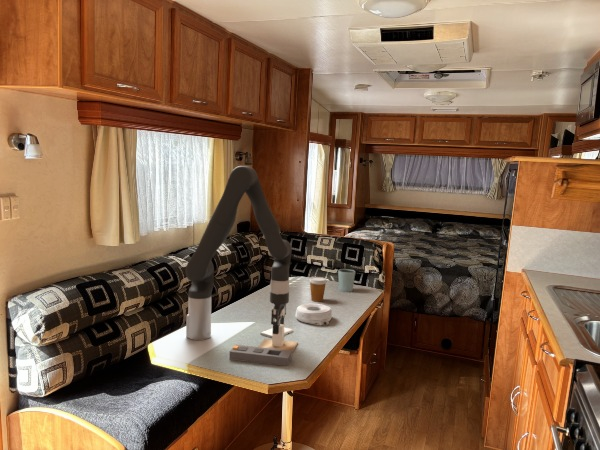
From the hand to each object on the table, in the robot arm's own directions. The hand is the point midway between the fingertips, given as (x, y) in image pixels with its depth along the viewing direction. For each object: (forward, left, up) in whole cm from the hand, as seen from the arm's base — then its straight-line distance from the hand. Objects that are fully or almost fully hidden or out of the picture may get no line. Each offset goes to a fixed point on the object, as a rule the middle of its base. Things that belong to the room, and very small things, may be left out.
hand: (278, 330), depth 184 cm
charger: (0, 0, -6) cm, 6 cm away
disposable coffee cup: (+4, +71, -7) cm, 71 cm away
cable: (+8, +38, -7) cm, 40 cm away
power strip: (-3, -14, -7) cm, 16 cm away
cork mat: (0, 0, -7) cm, 7 cm away
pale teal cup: (+17, +98, -7) cm, 100 cm away
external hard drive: (-4, +14, -7) cm, 17 cm away
